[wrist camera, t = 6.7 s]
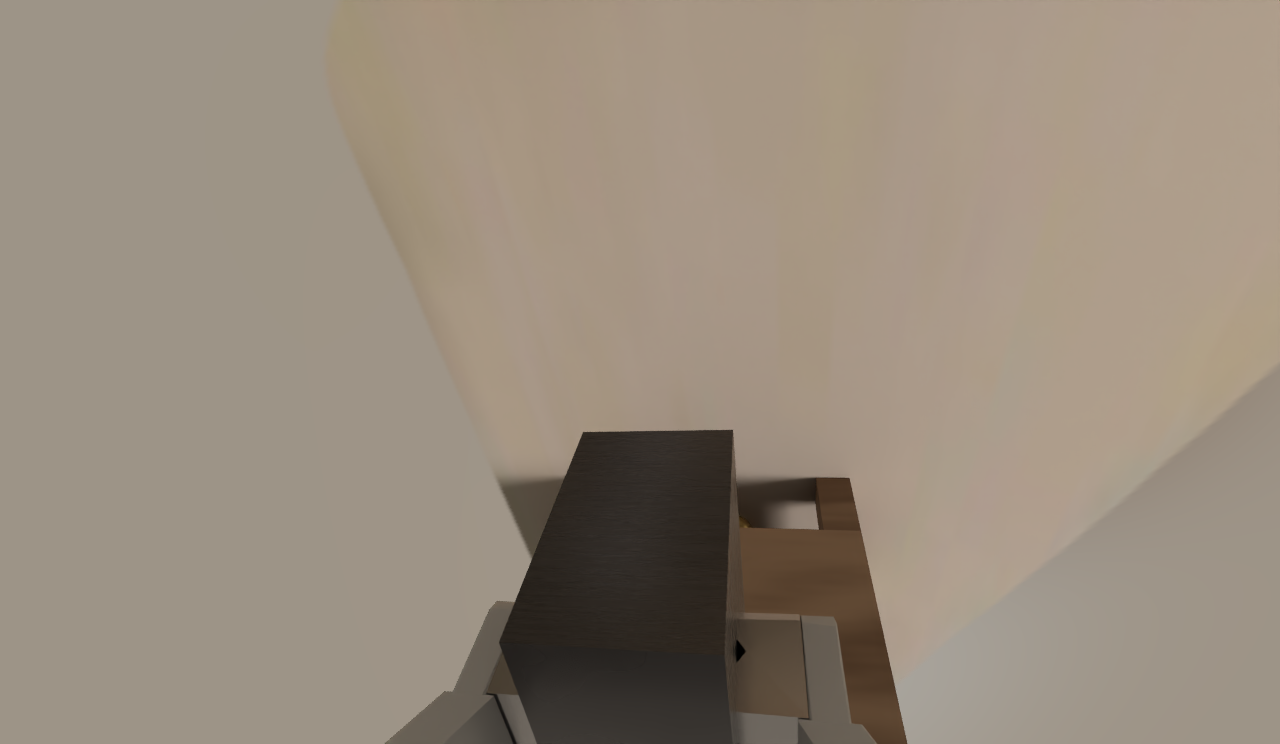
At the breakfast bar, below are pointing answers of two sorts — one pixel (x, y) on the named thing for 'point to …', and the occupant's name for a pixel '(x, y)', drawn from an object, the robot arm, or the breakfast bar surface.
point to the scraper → (634, 595)
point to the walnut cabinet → (829, 598)
